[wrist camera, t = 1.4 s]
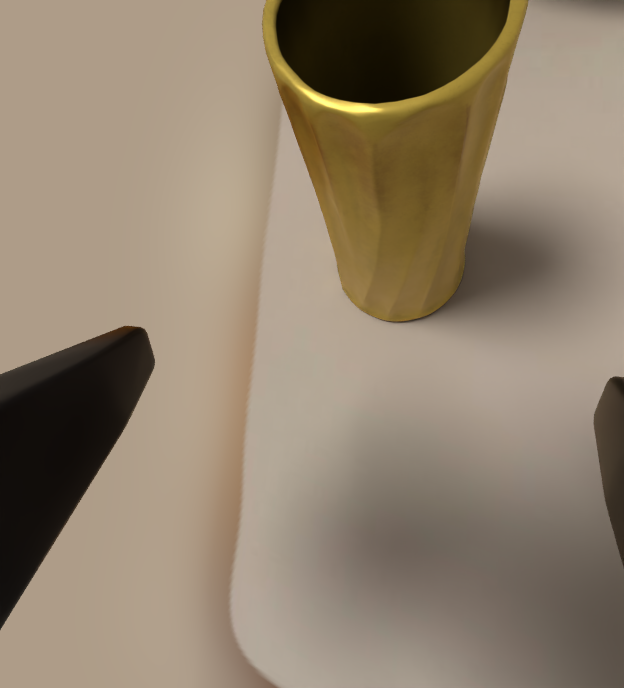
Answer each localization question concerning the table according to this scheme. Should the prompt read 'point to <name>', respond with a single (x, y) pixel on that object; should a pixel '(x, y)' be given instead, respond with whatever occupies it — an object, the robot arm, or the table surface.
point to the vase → (394, 132)
